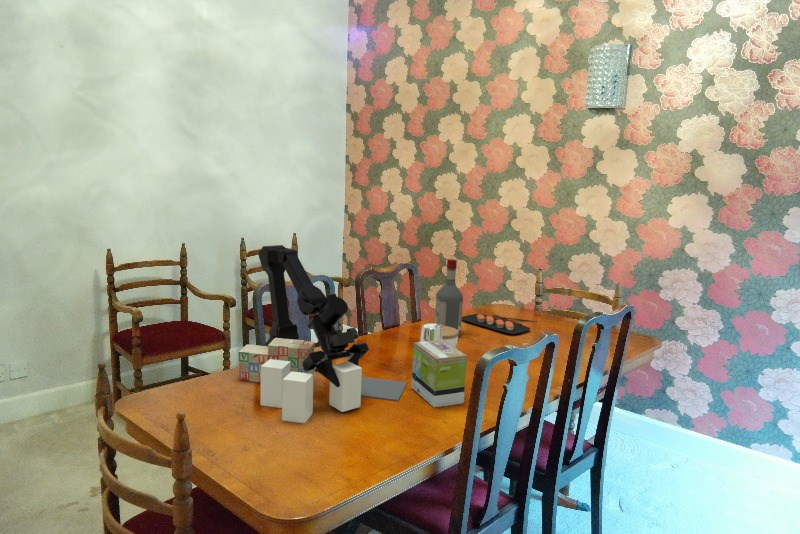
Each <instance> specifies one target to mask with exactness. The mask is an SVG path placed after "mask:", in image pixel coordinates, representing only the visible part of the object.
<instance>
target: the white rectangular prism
mask: <svg viewBox="0 0 800 534" xmlns="http://www.w3.org/2000/svg"><path fill="white" fill-rule="evenodd" d="M332 366H333V369H334V371H335V373H336V375H337V378H338V380H339V383H340V386H339V387H336V386H335V385H334V384H333V383H332V382H330V381H329V398H328V399H329V401H328V405H330V406H331V407H333V408H335V410H338V411H339V412H342V413H344V412H347V411H350V410H351V411H352V410H354V409H357V408H361V401H362V397H361V380H362V377H363V367H361V366H360V365H358V366H357V365H355V364H353V363H351V362H347V361H344V362H341V363H340V362H339V363H335V364H332Z"/></svg>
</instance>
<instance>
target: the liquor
mask: <svg viewBox="0 0 800 534" xmlns="http://www.w3.org/2000/svg"><path fill="white" fill-rule="evenodd" d="M457 262H458V261H457V259H454V258H453V259H452V258H450V259H447V261H446V263H447V264H446V279H445V284H444V285H442V287H440V288H439V290H437V292H436V294H435V295H436V296H435V312H434V314H435V315H434V324H438V325H440V324H442V325H443V326H449V327H452V328H455V329H457V330H458V331H459V335H458V338H460V337H461V333H462V321H463V320H462V317H463V306H464V305H463V304H464V303H463V302H464V296H463V294H462V292H461V290H460V289H459V287H458V286H457V285H456V273H457V266H458V265H457V264H458V263H457Z"/></svg>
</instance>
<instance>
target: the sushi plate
mask: <svg viewBox="0 0 800 534" xmlns="http://www.w3.org/2000/svg"><path fill="white" fill-rule="evenodd" d="M513 320H514V321H513ZM461 321H464V322H467V323H471V324H475V325H478V326H481V327H485V328H488V329H491V330H494V331H498V332H500V333H501V332H502V333H504V334H509V335H517V334H521V333H525V332H528V331H530V330H531V327H529V326H526V325H523V323H522V324H521V323H519V322H516V321H521V322H528V323H529V322H532V323H539V321H538V320H528V319H521V318H512V317H504V316H503V317H502V316H500V315H497V314H495V313H494V314H493V313H491V315H488V314H483V313H473V314H468V315H464V316H463V315H462V320H461Z"/></svg>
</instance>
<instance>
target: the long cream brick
mask: <svg viewBox="0 0 800 534" xmlns="http://www.w3.org/2000/svg"><path fill="white" fill-rule="evenodd" d="M290 365H291V362H290V361H282V360H273V359H269V360H268V361H267V362H266V363H264V364H263V365H262V366H261V383H260V401H259V402H260V406H262V407H263V406H264V407H269V408H278V409H282V395H283V379H284V378H285V377H286V376H287V375H288V374H289V373H290Z"/></svg>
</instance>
